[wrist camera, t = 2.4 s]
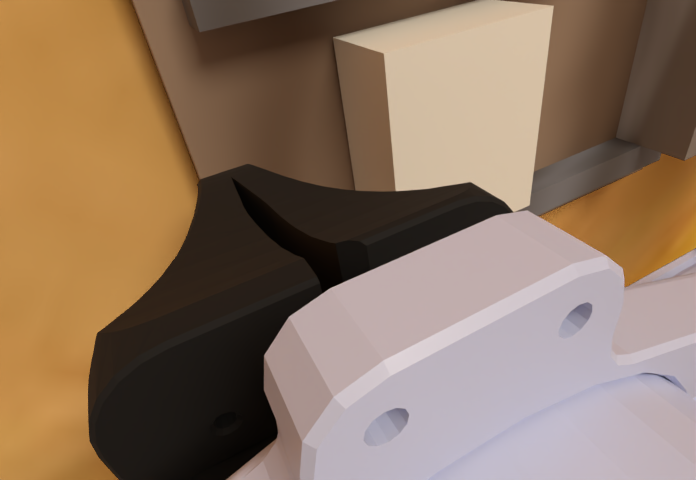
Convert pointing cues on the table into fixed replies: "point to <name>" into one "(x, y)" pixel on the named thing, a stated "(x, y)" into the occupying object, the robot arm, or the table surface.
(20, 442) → the table surface
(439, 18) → the block
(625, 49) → the brown and grey tray
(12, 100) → the table surface
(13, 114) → the table surface
